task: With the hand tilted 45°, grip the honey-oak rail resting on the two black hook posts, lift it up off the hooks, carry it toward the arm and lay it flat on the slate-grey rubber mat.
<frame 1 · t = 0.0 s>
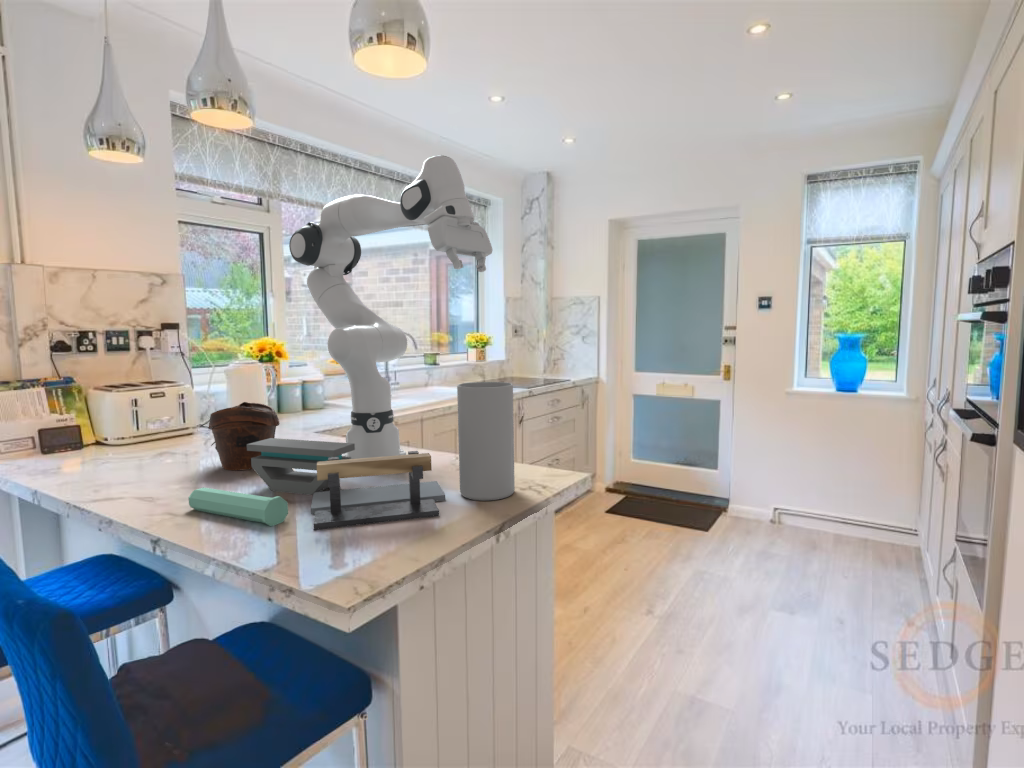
hand: (471, 269, 140), 52 cm above the countertop, tool tilted 20°, fingers open, 8 cm apart
oak rail: (375, 473, 113), point 9 cm above the countertop, touching hook stand
rubber mat: (378, 498, 126), on the countertop
brown tapered pot: (246, 465, 160), on the countertop
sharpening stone: (302, 489, 136), on the countertop
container: (235, 517, 117), on the countertop
cylinder vase: (487, 494, 129), on the countertop
hook stand: (377, 516, 114), on the countertop
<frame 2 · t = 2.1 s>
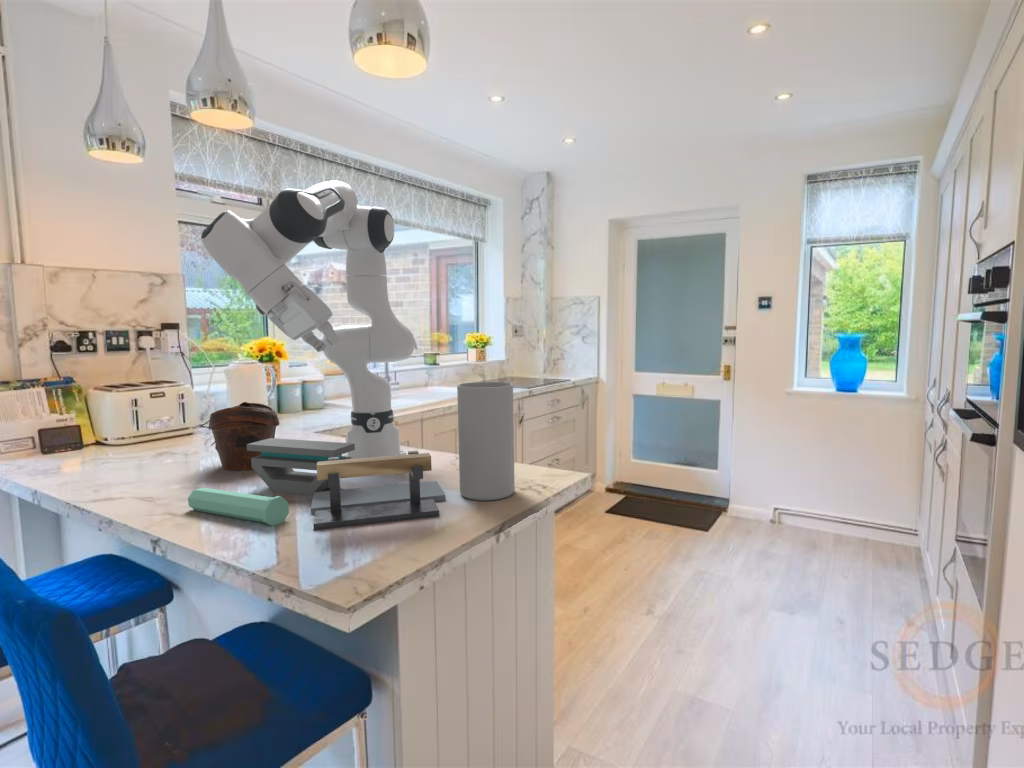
hand: (330, 346, 111), 34 cm above the countertop, tool tilted 40°, fingers open, 8 cm apart
nothing on the countertop moved.
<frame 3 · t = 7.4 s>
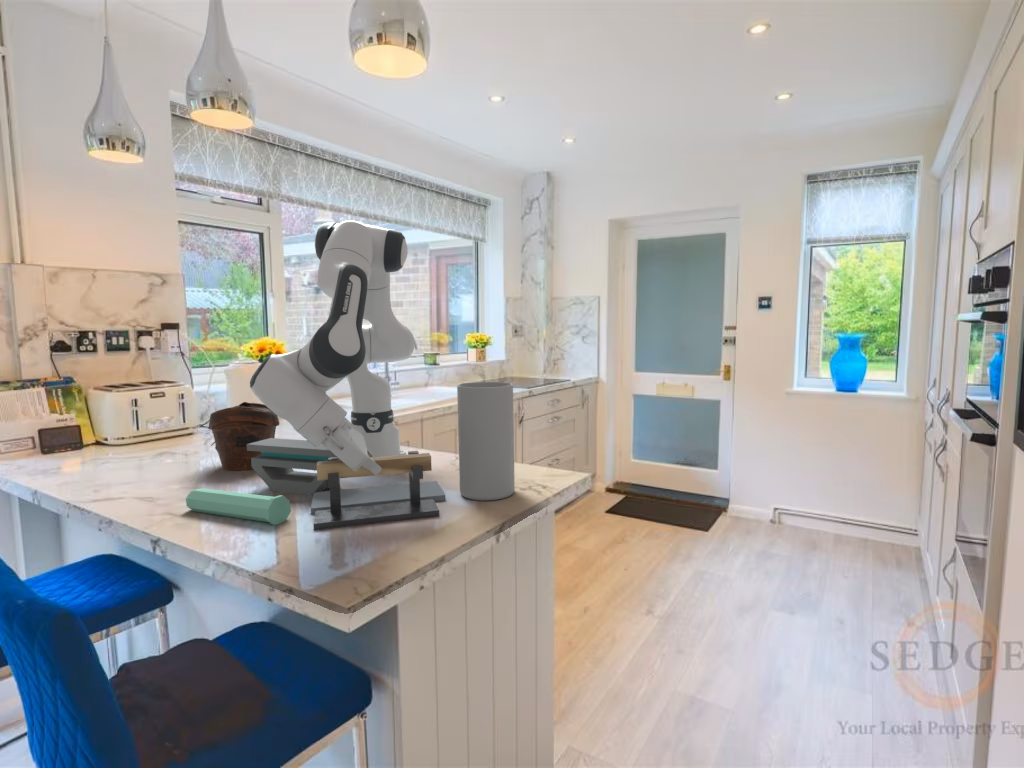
hand: (378, 468, 113), 10 cm above the countertop, tool tilted 45°, fingers closed on oak rail, 3 cm apart
oak rail: (375, 473, 113), point 9 cm above the countertop, touching gripper, hook stand
everything else where it was.
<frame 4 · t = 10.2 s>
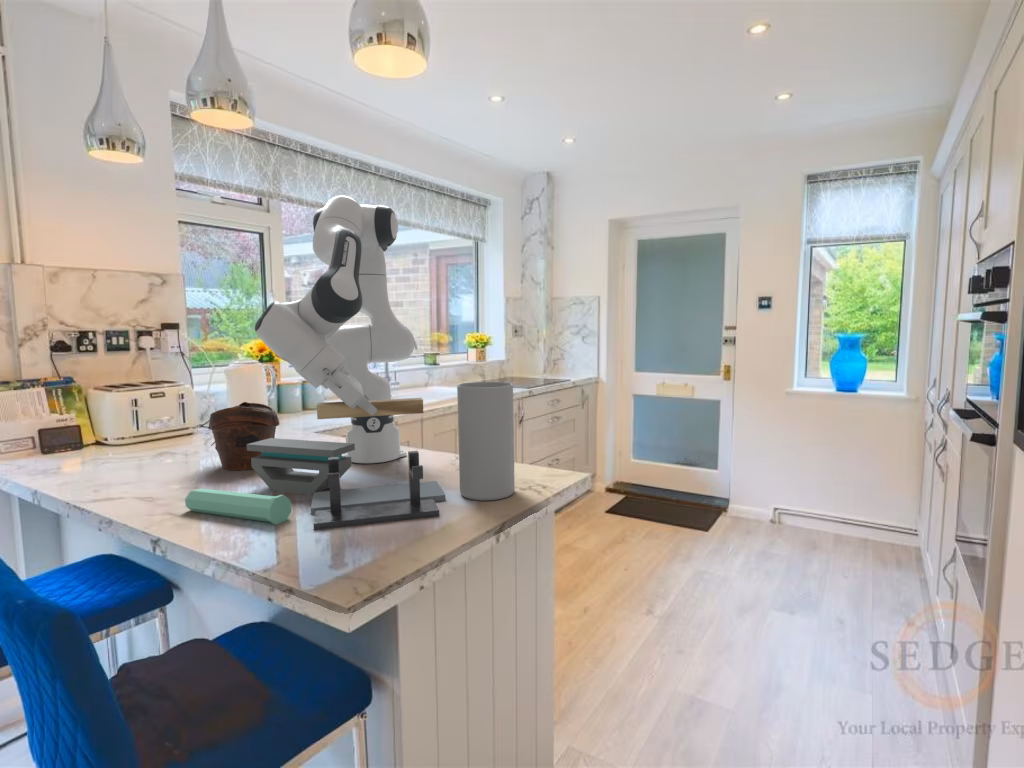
hand: (374, 410, 122), 20 cm above the countertop, tool tilted 45°, fingers closed on oak rail, 3 cm apart
oak rail: (371, 414, 122), point 19 cm above the countertop, touching gripper
everything else where it was.
when the fingers open (4 cm above the countertop, at t = 12.9 s): oak rail drops 2 cm, resting on rubber mat.
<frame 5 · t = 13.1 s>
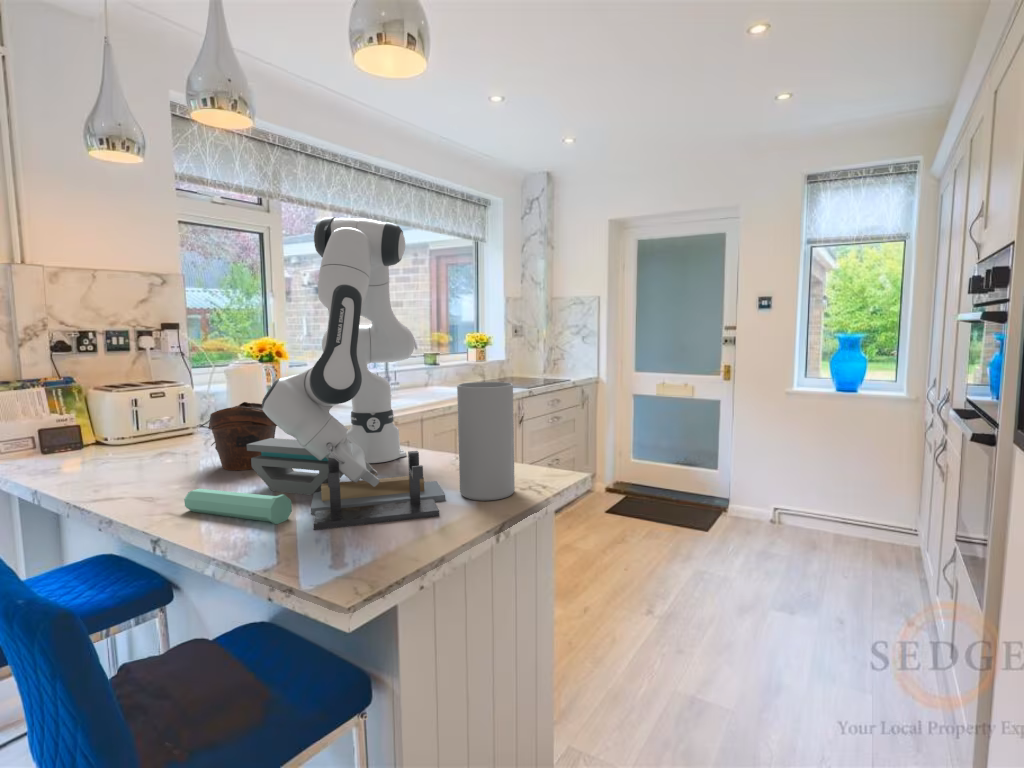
hand: (376, 479, 126), 4 cm above the countertop, tool tilted 45°, fingers open, 5 cm apart
oak rail: (374, 494, 126), point 1 cm above the countertop, touching rubber mat
everything else where it was.
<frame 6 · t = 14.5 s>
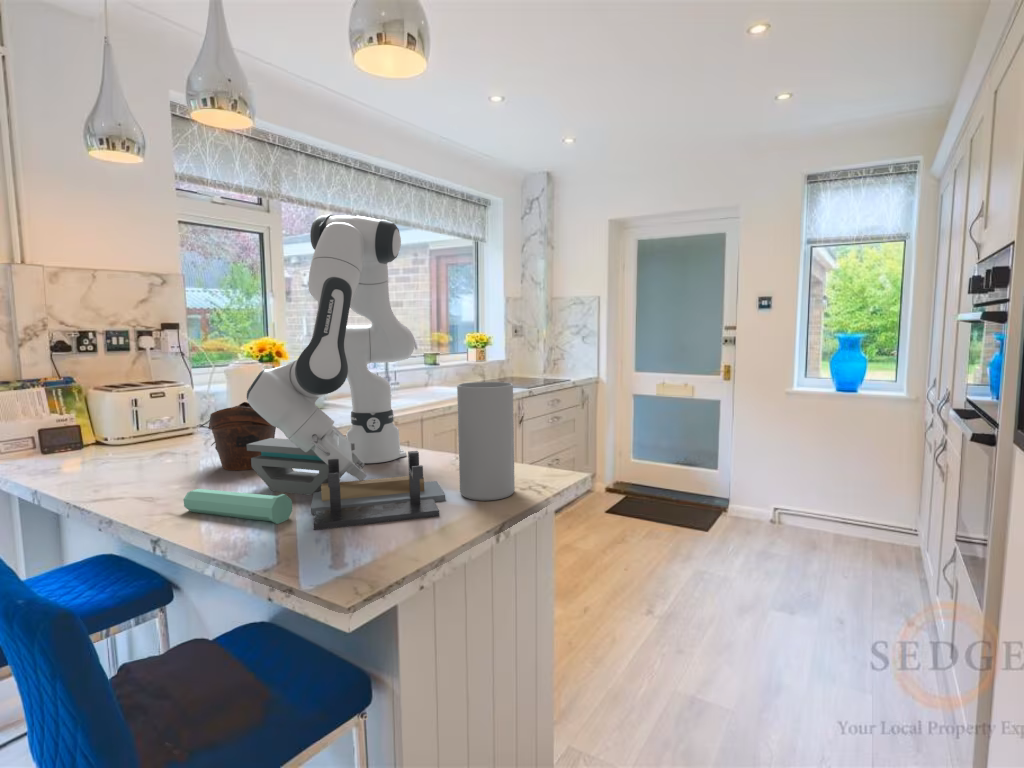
hand: (363, 472, 125), 6 cm above the countertop, tool tilted 45°, fingers open, 8 cm apart
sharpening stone: (302, 489, 136), on the countertop, touching gripper
everything else where it was.
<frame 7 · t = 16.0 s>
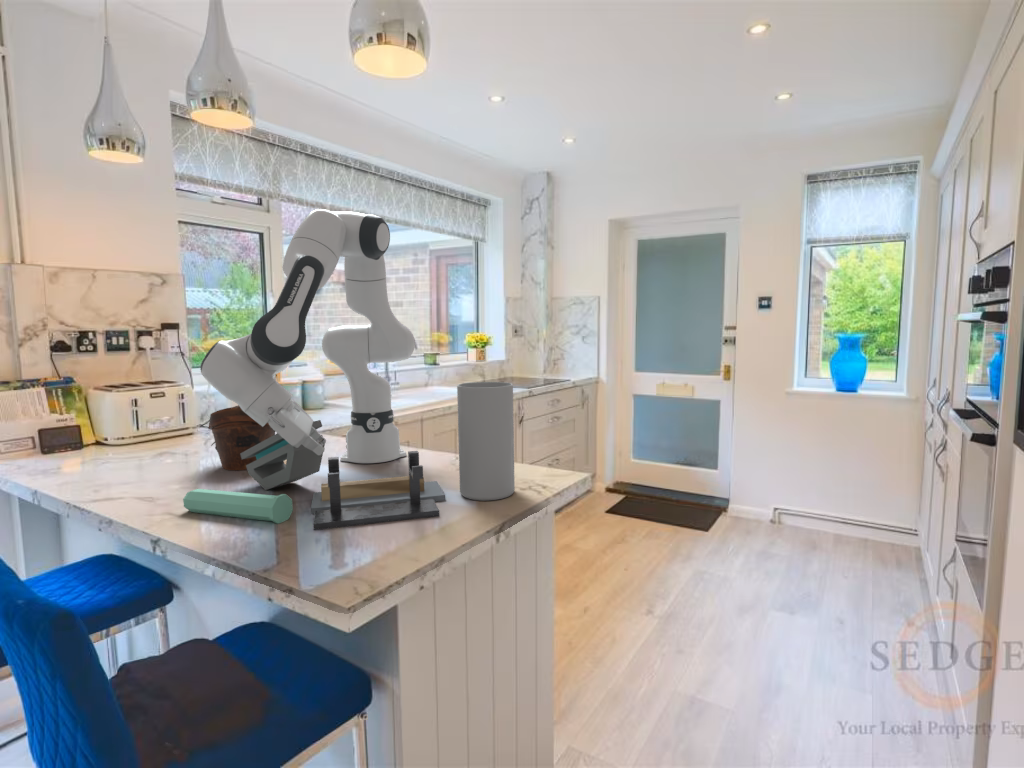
hand: (323, 448, 122), 12 cm above the countertop, tool tilted 45°, fingers open, 8 cm apart
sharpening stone: (292, 481, 134), point 2 cm above the countertop, touching gripper
everything else where it was.
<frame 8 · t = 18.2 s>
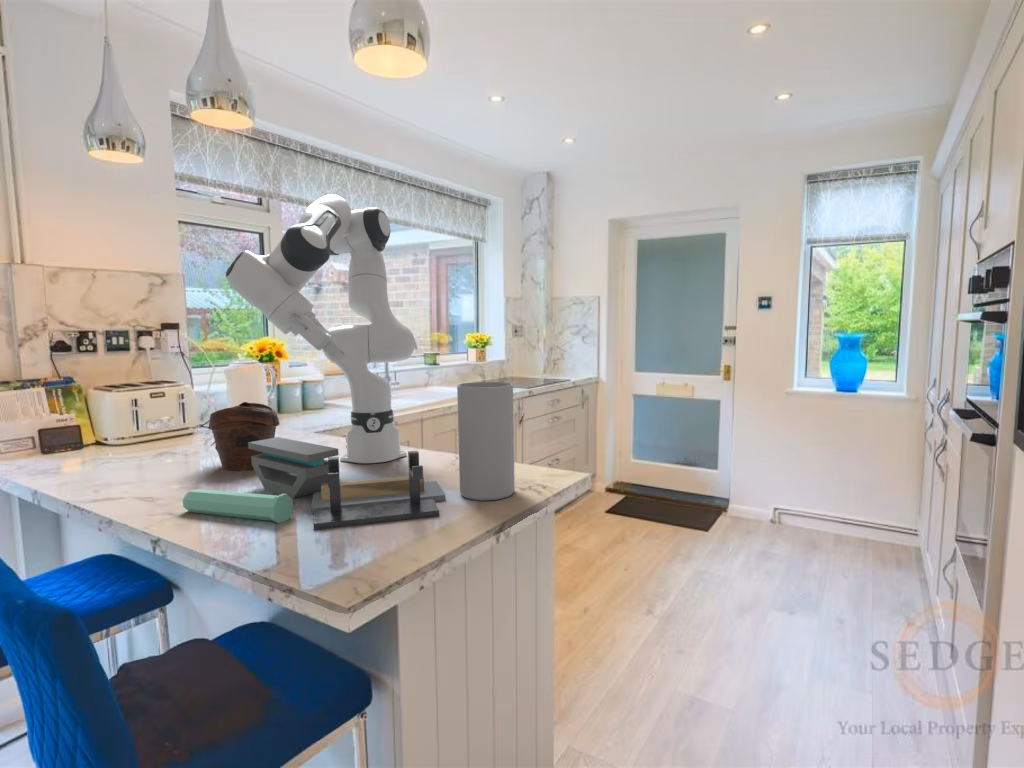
hand: (342, 358, 127), 31 cm above the countertop, tool tilted 45°, fingers open, 8 cm apart
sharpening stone: (294, 491, 134), on the countertop
everything else where it was.
at the end: oak rail inside the target area (0.0 cm from its centre), point 1.2 cm above the countertop; oak rail touching rubber mat; the gripper is holding nothing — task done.
